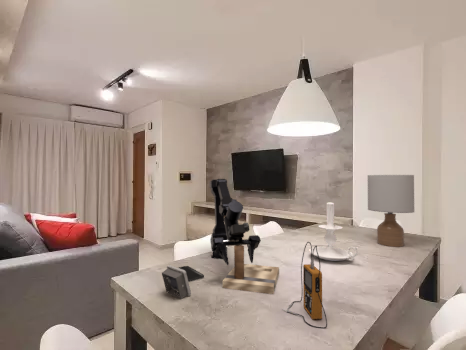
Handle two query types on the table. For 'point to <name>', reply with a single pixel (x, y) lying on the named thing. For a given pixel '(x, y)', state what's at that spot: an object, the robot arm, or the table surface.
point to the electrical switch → (176, 282)
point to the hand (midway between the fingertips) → (240, 263)
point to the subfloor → (254, 279)
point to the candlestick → (332, 240)
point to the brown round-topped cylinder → (239, 261)
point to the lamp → (391, 204)
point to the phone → (192, 273)
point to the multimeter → (311, 290)
